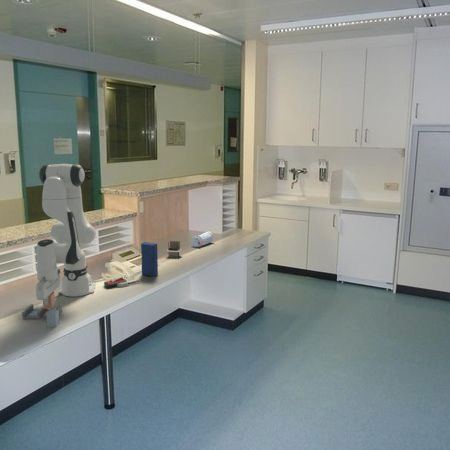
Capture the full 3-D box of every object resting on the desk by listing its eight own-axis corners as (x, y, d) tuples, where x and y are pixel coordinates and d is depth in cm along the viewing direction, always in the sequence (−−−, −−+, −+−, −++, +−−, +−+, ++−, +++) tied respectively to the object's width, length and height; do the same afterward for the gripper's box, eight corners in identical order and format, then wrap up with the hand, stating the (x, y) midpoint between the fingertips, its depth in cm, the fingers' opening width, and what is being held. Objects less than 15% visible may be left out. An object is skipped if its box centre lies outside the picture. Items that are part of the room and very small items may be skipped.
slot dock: (31, 311, 224) (31, 304, 224) (62, 311, 225) (61, 304, 224) (22, 319, 215) (22, 312, 214) (54, 319, 215) (54, 312, 214)
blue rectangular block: (158, 274, 284) (158, 243, 280) (153, 277, 279) (153, 245, 275) (146, 272, 288) (145, 241, 284) (141, 274, 283) (140, 243, 279)
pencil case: (199, 248, 349) (199, 236, 347) (189, 247, 354) (189, 235, 352) (214, 243, 366) (214, 231, 365) (205, 241, 371) (205, 230, 369)
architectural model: (189, 254, 332) (189, 239, 330) (184, 260, 316) (184, 245, 314) (164, 253, 335) (164, 238, 333) (158, 259, 319) (157, 244, 316)
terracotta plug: (46, 305, 220) (45, 292, 219) (55, 305, 220) (54, 292, 219) (43, 308, 216) (42, 295, 215) (51, 308, 216) (51, 295, 215)
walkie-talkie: (108, 290, 256) (140, 283, 268) (108, 283, 255) (140, 276, 267) (101, 286, 262) (133, 279, 275) (101, 279, 261) (133, 272, 274)
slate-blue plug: (50, 323, 211) (49, 309, 210) (59, 323, 211) (58, 310, 210) (47, 326, 207) (46, 313, 206) (56, 326, 207) (55, 313, 206)
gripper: (45, 281, 205) (47, 310, 208) (61, 268, 225) (62, 295, 228) (31, 281, 205) (33, 310, 208) (48, 268, 225) (50, 295, 228)
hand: (49, 302), depth 218 cm, fingers closed on terracotta plug, 4 cm apart
